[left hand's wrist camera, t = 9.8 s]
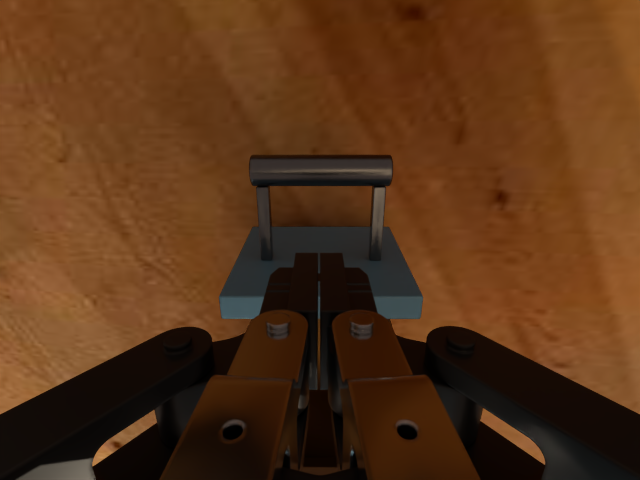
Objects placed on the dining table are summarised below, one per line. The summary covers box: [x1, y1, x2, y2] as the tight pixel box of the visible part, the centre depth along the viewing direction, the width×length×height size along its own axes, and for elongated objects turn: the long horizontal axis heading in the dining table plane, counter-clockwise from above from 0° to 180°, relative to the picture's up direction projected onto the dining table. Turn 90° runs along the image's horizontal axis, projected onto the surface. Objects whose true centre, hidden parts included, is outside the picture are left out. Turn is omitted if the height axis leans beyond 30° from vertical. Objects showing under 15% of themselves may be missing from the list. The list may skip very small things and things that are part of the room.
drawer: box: [219, 155, 423, 467], centre depth 23 cm, size 26×9×9 cm, turn 0°
